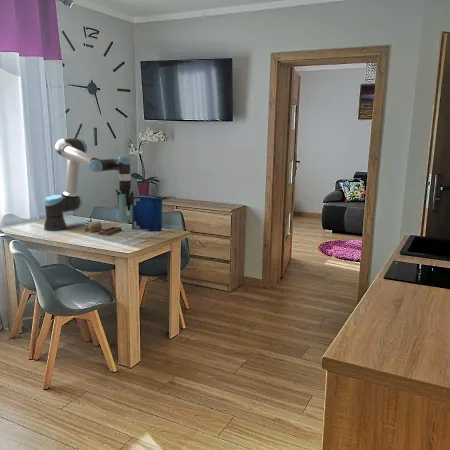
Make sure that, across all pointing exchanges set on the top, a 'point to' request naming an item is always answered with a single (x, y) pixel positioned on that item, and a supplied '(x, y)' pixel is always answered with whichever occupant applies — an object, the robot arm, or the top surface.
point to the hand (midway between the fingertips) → (125, 214)
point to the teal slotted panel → (124, 209)
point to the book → (147, 213)
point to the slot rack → (110, 231)
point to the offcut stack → (93, 227)
